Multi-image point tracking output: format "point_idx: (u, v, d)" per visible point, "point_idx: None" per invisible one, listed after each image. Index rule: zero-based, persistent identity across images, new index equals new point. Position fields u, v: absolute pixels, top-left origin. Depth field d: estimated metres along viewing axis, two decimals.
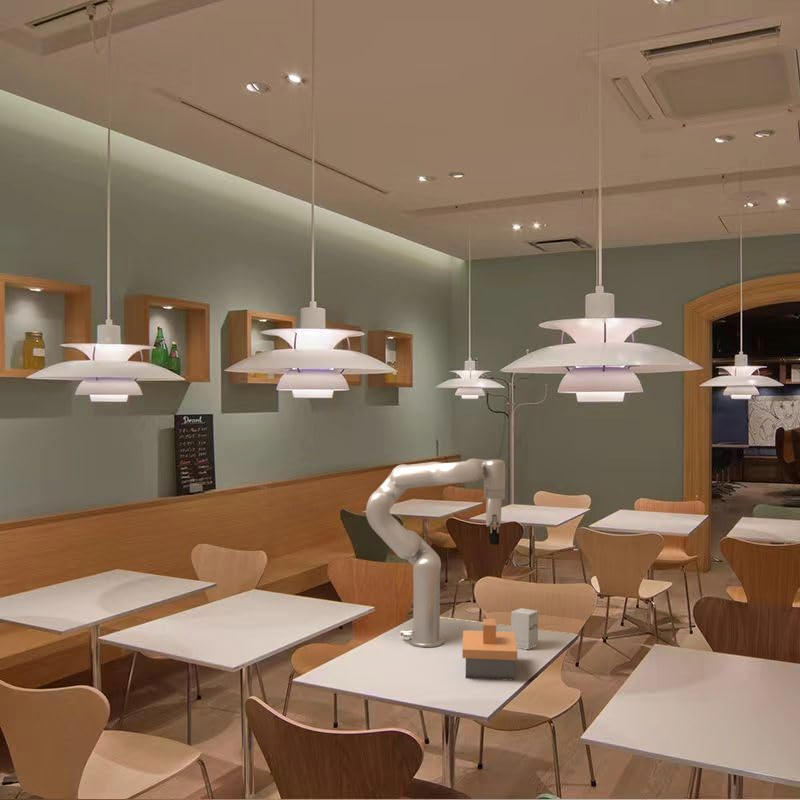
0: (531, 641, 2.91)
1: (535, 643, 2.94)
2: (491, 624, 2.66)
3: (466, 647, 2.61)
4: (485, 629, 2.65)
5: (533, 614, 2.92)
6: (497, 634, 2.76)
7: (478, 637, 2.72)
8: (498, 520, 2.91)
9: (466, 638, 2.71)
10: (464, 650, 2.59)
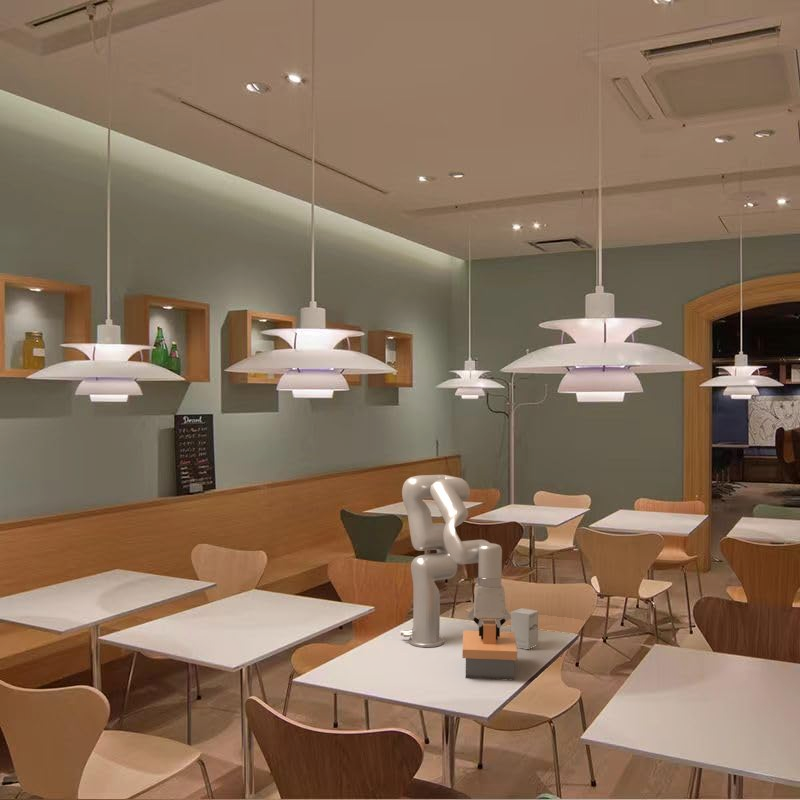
0: (531, 641, 2.91)
1: (535, 643, 2.94)
2: (491, 624, 2.66)
3: (466, 647, 2.61)
4: (485, 629, 2.65)
5: (533, 614, 2.92)
6: None
7: (478, 637, 2.72)
8: None
9: (466, 638, 2.71)
10: (464, 650, 2.59)
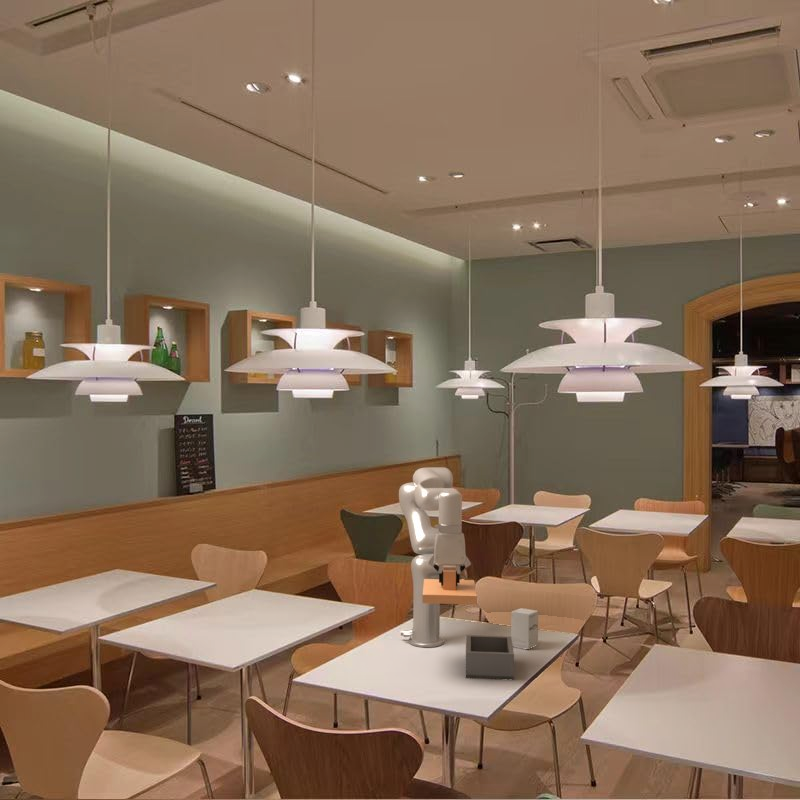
0: (531, 641, 2.91)
1: (535, 643, 2.94)
2: (451, 570, 2.67)
3: (426, 592, 2.62)
4: (445, 575, 2.66)
5: (533, 614, 2.92)
6: None
7: (438, 584, 2.73)
8: None
9: (427, 585, 2.72)
10: (424, 595, 2.60)
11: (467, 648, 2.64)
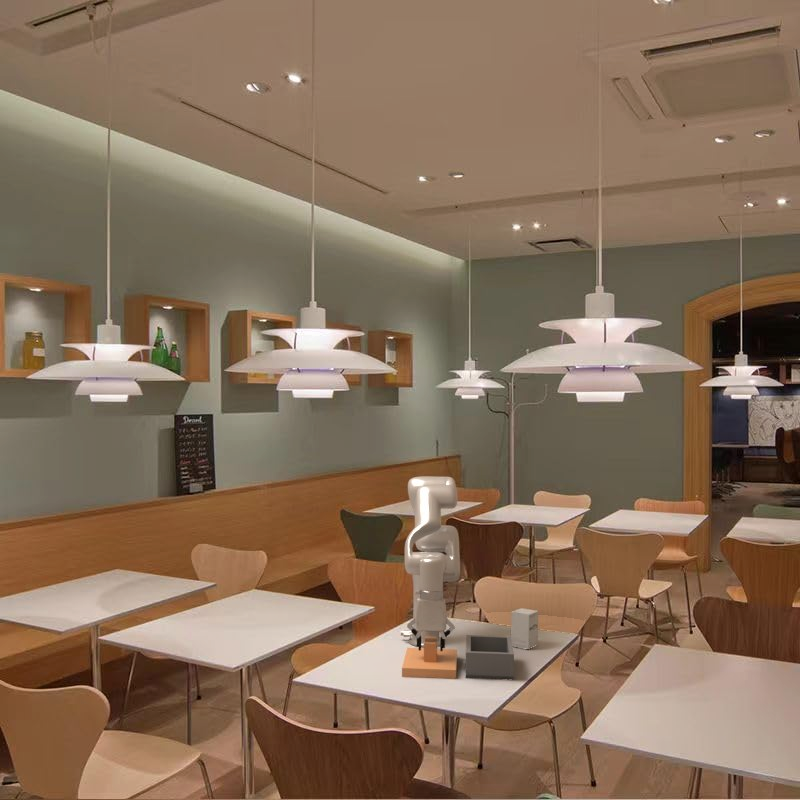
0: (531, 641, 2.91)
1: (535, 643, 2.94)
2: (432, 642, 2.68)
3: (406, 665, 2.63)
4: (425, 647, 2.67)
5: (533, 614, 2.92)
6: (440, 651, 2.78)
7: (420, 655, 2.73)
8: None
9: (408, 656, 2.73)
10: (403, 669, 2.60)
11: (467, 648, 2.64)
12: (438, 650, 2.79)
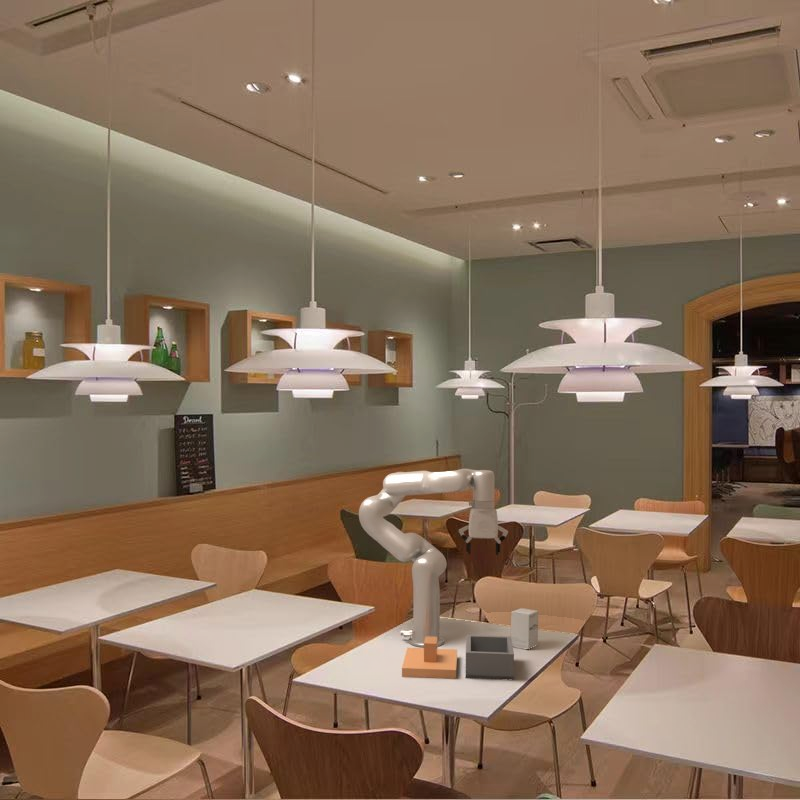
0: (531, 641, 2.91)
1: (535, 643, 2.94)
2: (432, 642, 2.68)
3: (406, 665, 2.63)
4: (425, 647, 2.67)
5: (533, 614, 2.92)
6: (440, 651, 2.78)
7: (420, 655, 2.73)
8: None
9: (408, 656, 2.73)
10: (403, 669, 2.60)
11: (467, 648, 2.64)
12: (438, 650, 2.79)
